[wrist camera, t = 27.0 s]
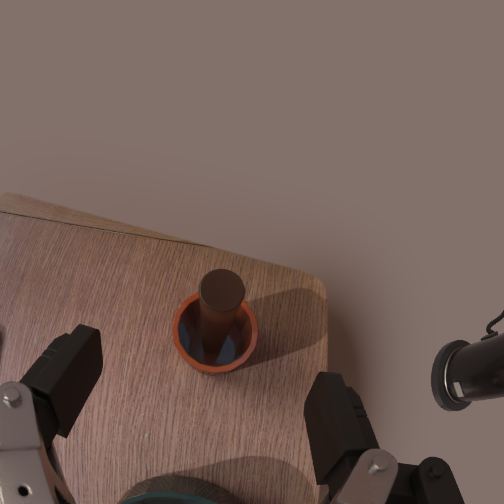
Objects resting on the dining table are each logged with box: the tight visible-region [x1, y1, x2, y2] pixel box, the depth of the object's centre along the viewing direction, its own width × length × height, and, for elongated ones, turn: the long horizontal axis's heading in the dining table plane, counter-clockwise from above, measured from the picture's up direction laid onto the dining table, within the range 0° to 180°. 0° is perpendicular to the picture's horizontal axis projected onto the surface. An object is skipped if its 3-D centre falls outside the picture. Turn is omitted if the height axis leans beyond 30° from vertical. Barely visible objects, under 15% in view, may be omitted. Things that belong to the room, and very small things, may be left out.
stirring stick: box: [199, 269, 245, 353], centre depth 22 cm, size 2×2×18 cm
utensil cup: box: [172, 292, 259, 376], centre depth 27 cm, size 7×7×8 cm
